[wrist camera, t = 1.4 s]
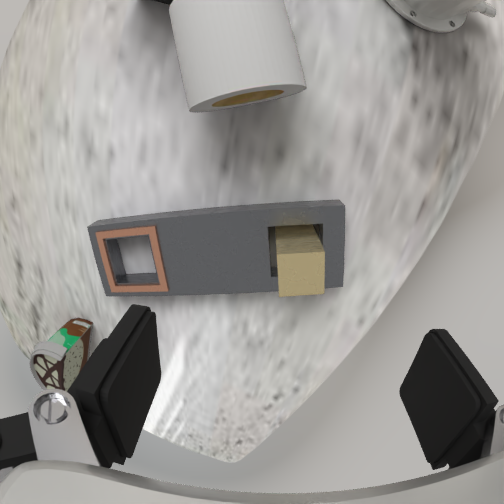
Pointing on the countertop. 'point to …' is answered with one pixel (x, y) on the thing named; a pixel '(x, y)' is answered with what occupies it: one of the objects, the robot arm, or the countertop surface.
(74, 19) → the countertop surface
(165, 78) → the countertop surface
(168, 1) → the battery
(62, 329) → the food container
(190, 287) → the rail
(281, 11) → the toilet paper
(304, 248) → the tan wooden block
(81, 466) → the robot arm
